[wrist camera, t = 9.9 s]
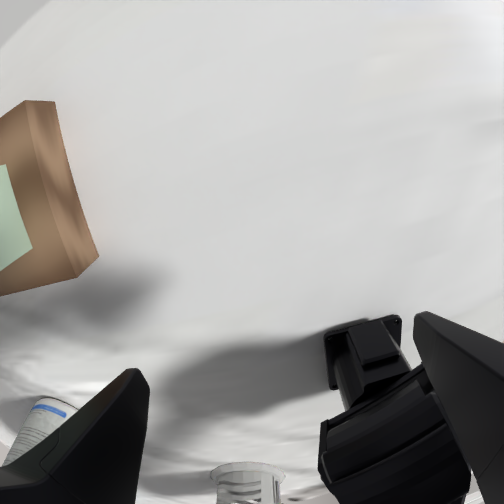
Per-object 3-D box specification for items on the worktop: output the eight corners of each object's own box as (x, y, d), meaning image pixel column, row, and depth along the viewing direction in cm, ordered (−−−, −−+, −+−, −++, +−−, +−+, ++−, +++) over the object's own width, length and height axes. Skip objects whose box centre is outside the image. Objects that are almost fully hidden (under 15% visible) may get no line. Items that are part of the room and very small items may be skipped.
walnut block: (101, 254, 21) (77, 277, 17) (8, 280, 22) (-16, 300, 18) (58, 101, 17) (24, 100, 13) (-30, 161, 18) (-60, 170, 14)
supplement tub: (35, 414, 29) (-6, 493, 16) (42, 382, 26) (-14, 477, 13) (95, 451, 31) (66, 535, 18) (113, 426, 28) (78, 532, 15)
